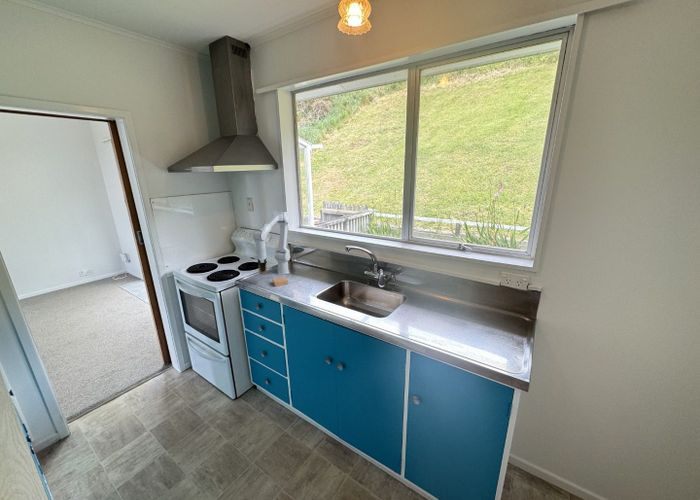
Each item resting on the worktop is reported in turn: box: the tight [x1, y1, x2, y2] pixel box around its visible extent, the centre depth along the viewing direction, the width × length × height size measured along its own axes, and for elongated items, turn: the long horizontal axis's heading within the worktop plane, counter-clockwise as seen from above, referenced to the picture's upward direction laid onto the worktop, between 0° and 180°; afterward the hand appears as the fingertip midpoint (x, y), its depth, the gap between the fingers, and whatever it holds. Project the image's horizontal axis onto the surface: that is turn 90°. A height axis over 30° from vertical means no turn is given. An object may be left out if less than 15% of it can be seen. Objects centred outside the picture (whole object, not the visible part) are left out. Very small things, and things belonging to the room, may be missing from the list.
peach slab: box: [271, 276, 289, 287], centre depth 183 cm, size 8×8×3 cm
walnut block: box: [258, 265, 268, 275], centre depth 182 cm, size 4×4×5 cm
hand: (263, 270), depth 182 cm, fingers closed on walnut block, 4 cm apart
